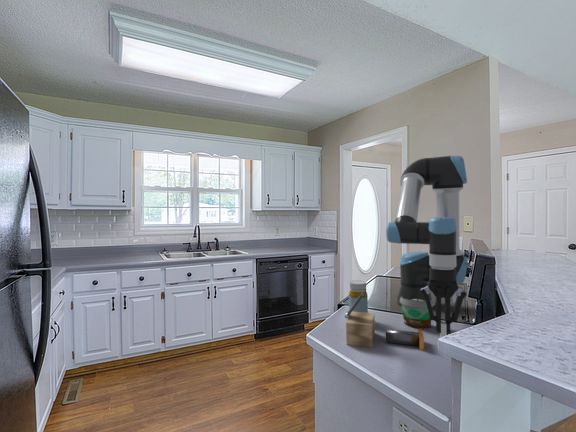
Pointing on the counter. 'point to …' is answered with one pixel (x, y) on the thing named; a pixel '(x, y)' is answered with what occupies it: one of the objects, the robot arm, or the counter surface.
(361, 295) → the keeper
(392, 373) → the counter surface
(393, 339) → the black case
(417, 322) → the food container
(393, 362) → the counter surface
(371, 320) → the block
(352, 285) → the bottle
